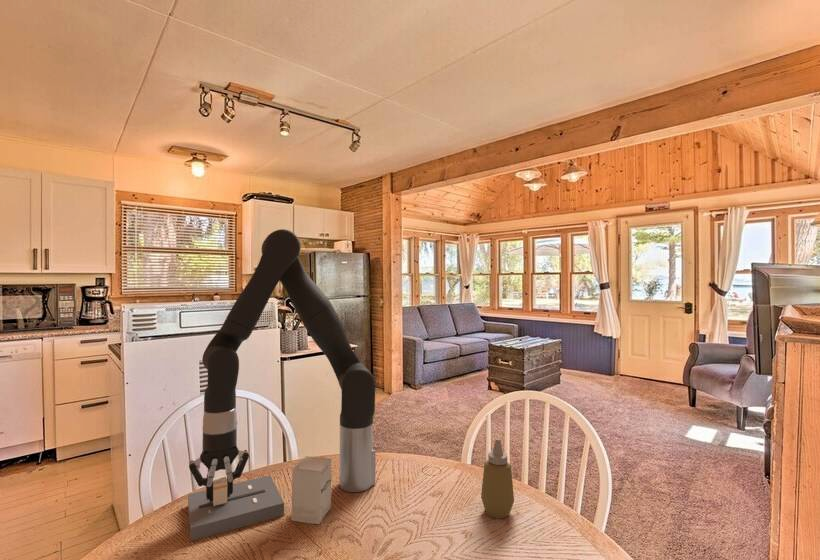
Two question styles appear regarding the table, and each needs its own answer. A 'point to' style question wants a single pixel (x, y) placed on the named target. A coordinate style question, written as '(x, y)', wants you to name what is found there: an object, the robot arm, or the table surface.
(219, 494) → the fader
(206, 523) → the console
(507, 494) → the squeeze bottle
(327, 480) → the supplement box
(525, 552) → the table surface
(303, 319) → the robot arm
